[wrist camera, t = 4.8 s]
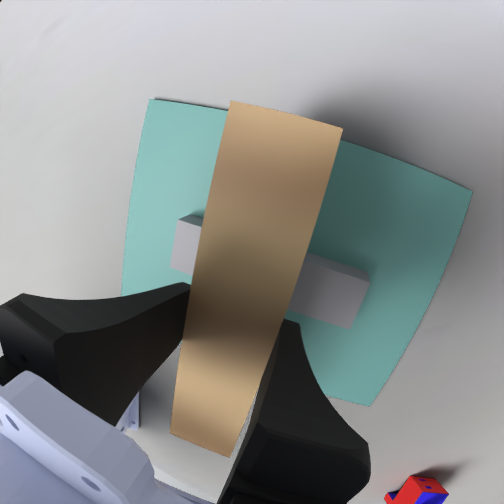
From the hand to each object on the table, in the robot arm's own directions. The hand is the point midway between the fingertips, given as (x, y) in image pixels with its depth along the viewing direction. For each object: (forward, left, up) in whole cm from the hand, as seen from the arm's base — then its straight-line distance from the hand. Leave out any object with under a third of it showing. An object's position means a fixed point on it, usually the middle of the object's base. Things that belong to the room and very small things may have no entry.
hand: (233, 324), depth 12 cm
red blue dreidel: (-18, -21, -8) cm, 29 cm away
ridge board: (0, 0, -7) cm, 7 cm away
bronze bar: (0, 0, -4) cm, 4 cm away
